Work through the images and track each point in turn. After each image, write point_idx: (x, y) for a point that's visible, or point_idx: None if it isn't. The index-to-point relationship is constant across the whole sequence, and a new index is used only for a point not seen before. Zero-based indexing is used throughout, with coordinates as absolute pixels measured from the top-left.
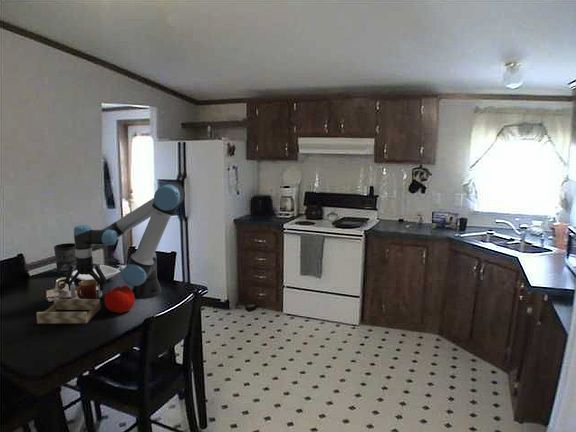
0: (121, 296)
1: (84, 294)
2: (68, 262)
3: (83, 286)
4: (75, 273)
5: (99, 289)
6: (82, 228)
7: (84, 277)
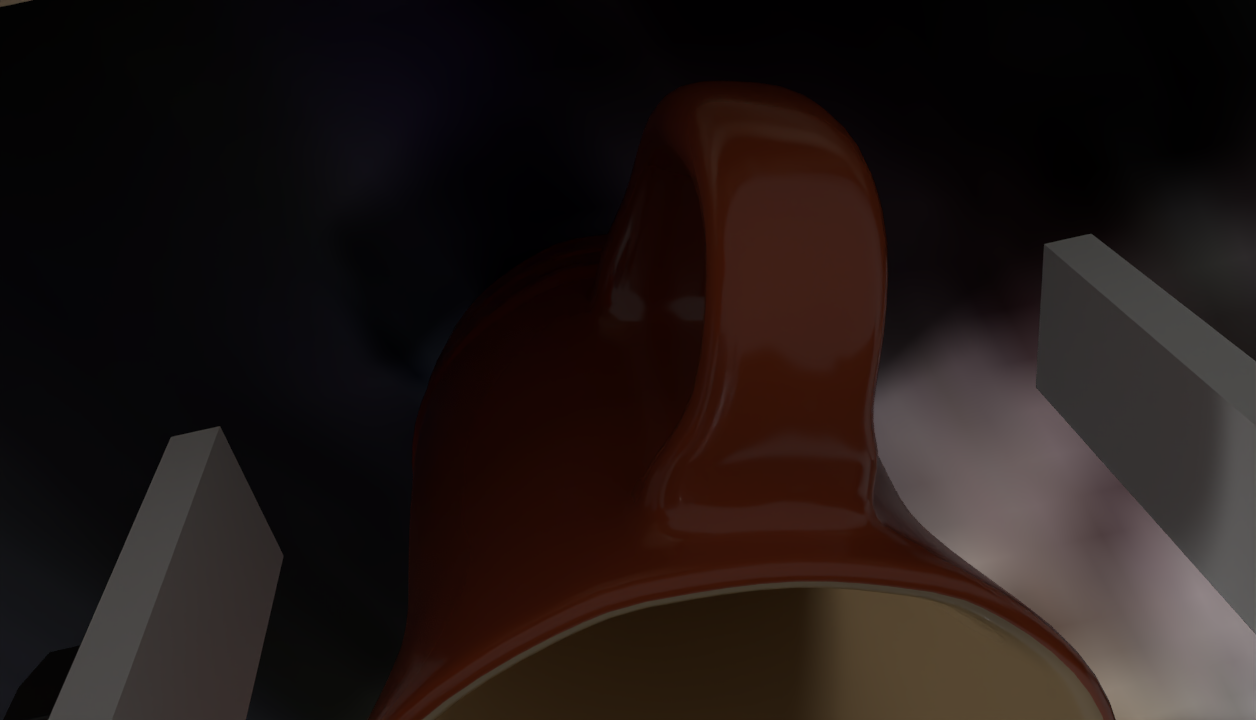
0: None
1: (654, 352)
2: None
3: (707, 541)
4: None
5: (91, 651)
6: None
7: None
